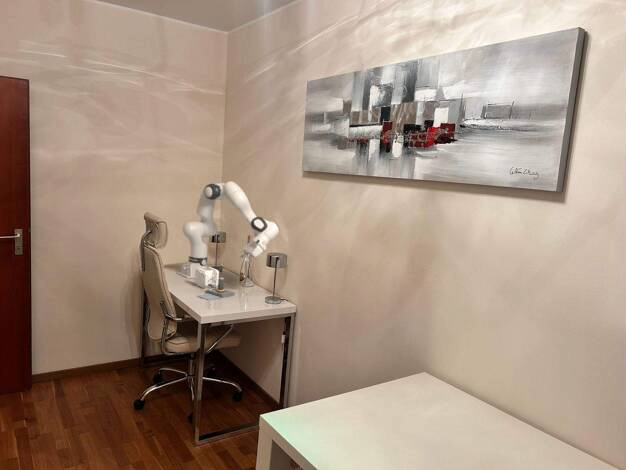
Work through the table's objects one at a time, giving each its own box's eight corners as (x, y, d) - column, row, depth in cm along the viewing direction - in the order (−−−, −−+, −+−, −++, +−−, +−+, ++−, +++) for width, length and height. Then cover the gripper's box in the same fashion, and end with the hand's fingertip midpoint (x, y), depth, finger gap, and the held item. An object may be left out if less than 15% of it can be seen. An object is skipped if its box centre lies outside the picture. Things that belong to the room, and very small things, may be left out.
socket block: (206, 293, 298) (206, 288, 297) (218, 290, 306) (218, 286, 306) (222, 298, 290) (222, 293, 289) (234, 295, 298) (234, 290, 297)
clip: (212, 288, 299) (212, 287, 299) (210, 288, 297) (210, 287, 297) (205, 285, 303) (205, 284, 303) (202, 286, 301) (202, 285, 301)
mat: (196, 296, 288) (196, 295, 288) (208, 294, 295) (208, 293, 295) (208, 300, 282) (208, 299, 282) (219, 297, 289) (219, 297, 289)
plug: (215, 294, 297) (216, 277, 296) (220, 293, 301) (221, 276, 300) (220, 295, 295) (221, 279, 293) (225, 294, 298) (226, 278, 297)
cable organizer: (218, 288, 312) (220, 270, 310) (203, 289, 305) (205, 271, 304) (208, 283, 323) (209, 266, 322) (193, 284, 317) (194, 267, 315)
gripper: (251, 237, 311) (235, 252, 308) (260, 242, 293) (243, 257, 290) (257, 244, 313) (241, 259, 311) (267, 249, 295) (250, 265, 292)
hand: (242, 258), depth 300 cm, fingers open, 8 cm apart
